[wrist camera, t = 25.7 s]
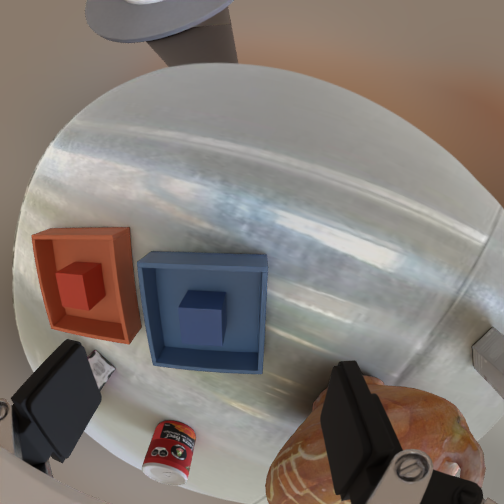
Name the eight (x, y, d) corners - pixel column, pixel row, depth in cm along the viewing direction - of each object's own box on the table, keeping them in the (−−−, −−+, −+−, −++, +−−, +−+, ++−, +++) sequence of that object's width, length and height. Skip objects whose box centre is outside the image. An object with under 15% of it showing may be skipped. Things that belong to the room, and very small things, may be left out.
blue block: (187, 289, 33) (177, 307, 29) (226, 291, 33) (221, 309, 29) (190, 323, 35) (181, 343, 30) (226, 325, 35) (222, 346, 30)
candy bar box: (94, 346, 37) (42, 412, 22) (116, 367, 38) (72, 438, 22) (71, 372, 40) (29, 428, 24) (91, 390, 40) (53, 450, 25)
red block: (74, 261, 33) (55, 272, 28) (101, 262, 33) (82, 275, 28) (80, 292, 34) (62, 306, 30) (106, 295, 34) (89, 311, 29)
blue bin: (151, 251, 33) (136, 262, 28) (266, 254, 33) (268, 266, 28) (162, 346, 37) (152, 365, 32) (262, 353, 36) (262, 374, 32)
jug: (231, 419, 41) (214, 578, 12) (347, 298, 34) (468, 509, 5) (343, 456, 44) (368, 568, 15) (445, 367, 38) (523, 479, 9)
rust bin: (50, 228, 32) (31, 235, 28) (129, 227, 32) (112, 235, 28) (66, 315, 36) (51, 328, 32) (141, 327, 36) (129, 344, 31)
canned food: (204, 433, 42) (195, 480, 31) (182, 446, 44) (172, 488, 33) (169, 413, 41) (153, 460, 30) (150, 428, 42) (134, 471, 32)
